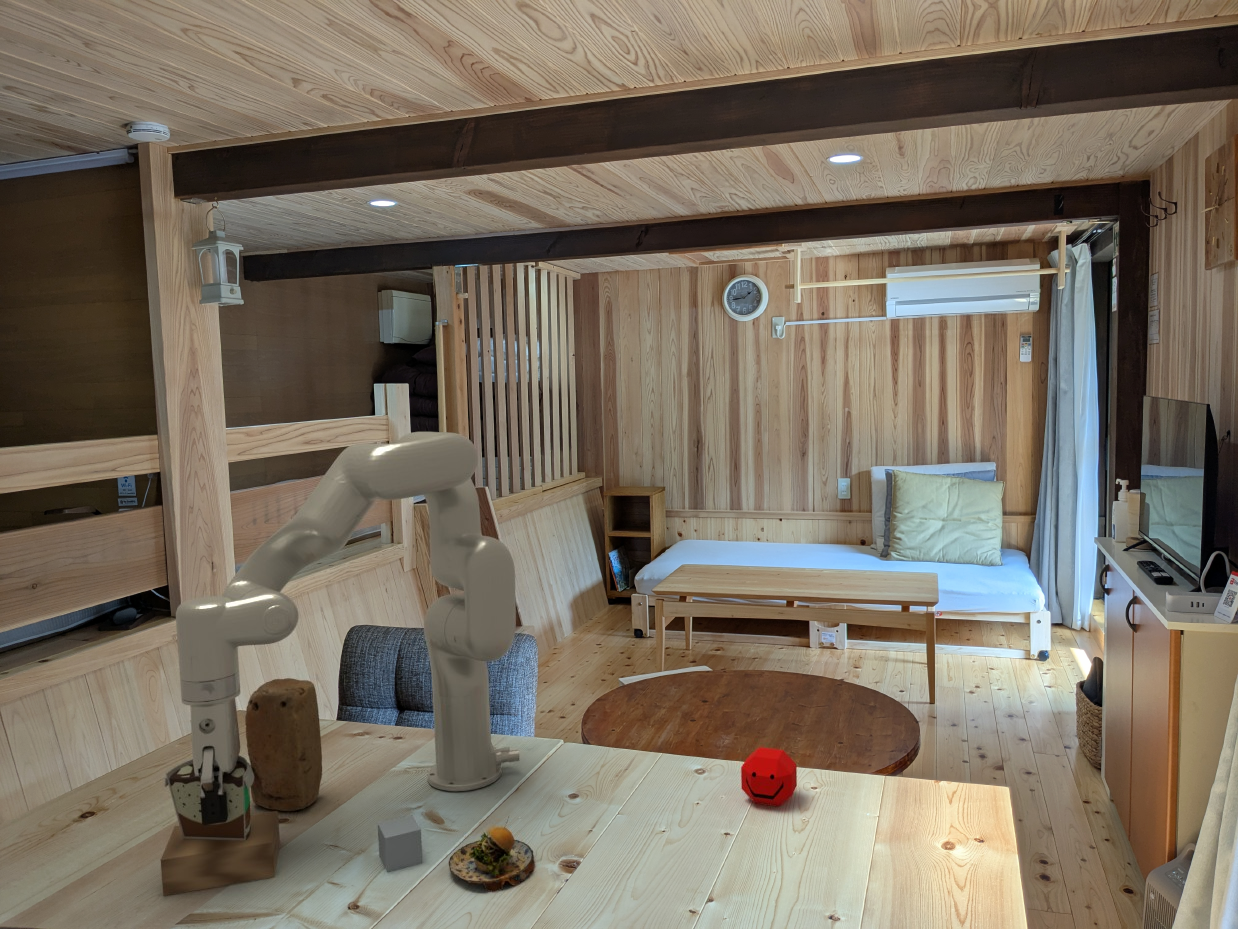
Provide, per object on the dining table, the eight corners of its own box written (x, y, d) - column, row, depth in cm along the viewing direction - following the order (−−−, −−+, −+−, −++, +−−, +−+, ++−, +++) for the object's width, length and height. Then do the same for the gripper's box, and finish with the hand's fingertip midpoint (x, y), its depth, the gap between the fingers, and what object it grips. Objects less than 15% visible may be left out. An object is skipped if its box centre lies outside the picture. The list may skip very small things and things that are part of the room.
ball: (738, 807, 142) (737, 760, 141) (750, 786, 149) (749, 741, 149) (789, 814, 139) (788, 766, 138) (799, 792, 146) (798, 746, 146)
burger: (459, 849, 132) (456, 800, 132) (539, 848, 132) (537, 798, 131) (439, 895, 120) (436, 841, 120) (528, 894, 120) (525, 839, 119)
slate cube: (413, 848, 133) (412, 815, 132) (422, 863, 128) (420, 829, 128) (379, 856, 131) (377, 823, 130) (387, 872, 126) (385, 838, 126)
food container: (277, 814, 132) (268, 752, 130) (256, 841, 126) (246, 775, 124) (197, 812, 133) (187, 750, 131) (172, 838, 127) (162, 773, 125)
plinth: (280, 843, 135) (277, 810, 135) (274, 877, 126) (272, 842, 125) (177, 859, 131) (174, 826, 131) (163, 896, 122) (160, 860, 121)
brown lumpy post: (328, 795, 151) (321, 677, 149) (303, 816, 144) (295, 692, 142) (270, 791, 153) (262, 675, 152) (243, 811, 146) (234, 690, 145)
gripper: (231, 703, 119) (240, 835, 120) (246, 666, 136) (254, 782, 137) (168, 710, 117) (178, 844, 118) (192, 672, 134) (200, 790, 135)
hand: (218, 810), depth 128 cm, fingers closed on food container, 6 cm apart
